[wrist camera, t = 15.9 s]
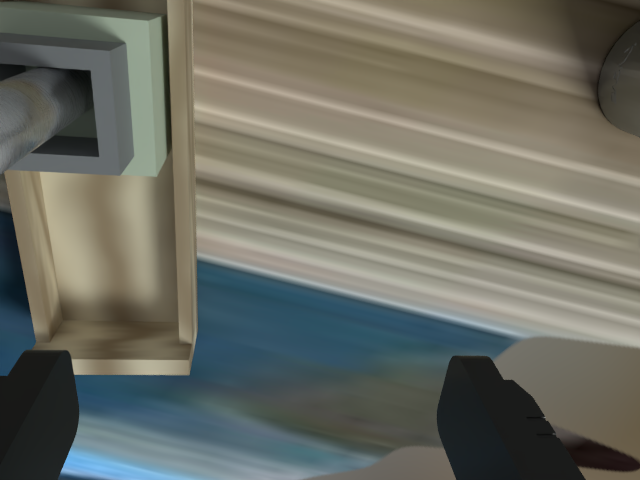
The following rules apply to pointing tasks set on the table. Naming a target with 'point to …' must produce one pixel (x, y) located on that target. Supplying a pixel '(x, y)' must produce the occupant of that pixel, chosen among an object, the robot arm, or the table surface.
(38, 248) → the bay
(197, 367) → the table surface
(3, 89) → the peg
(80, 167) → the square socket block
